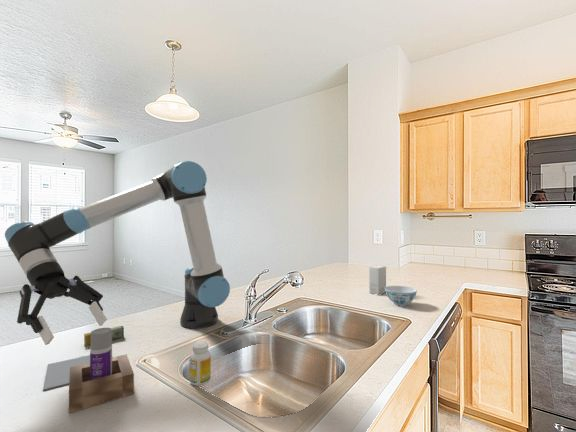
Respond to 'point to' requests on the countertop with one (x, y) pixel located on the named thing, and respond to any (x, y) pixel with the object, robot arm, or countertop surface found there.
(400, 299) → the chinaware
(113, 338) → the medication box
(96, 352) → the container
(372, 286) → the skincare box
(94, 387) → the walnut box
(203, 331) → the countertop surface
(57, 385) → the grey mat
